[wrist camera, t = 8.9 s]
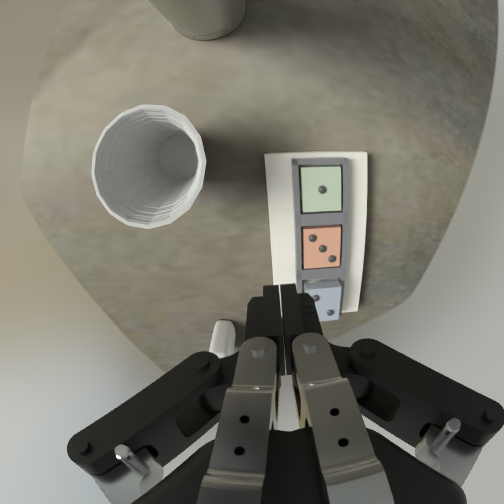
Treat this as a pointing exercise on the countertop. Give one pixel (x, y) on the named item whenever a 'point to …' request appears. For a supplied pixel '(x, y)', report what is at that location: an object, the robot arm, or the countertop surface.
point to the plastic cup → (148, 166)
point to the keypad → (317, 221)
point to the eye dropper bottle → (223, 339)
